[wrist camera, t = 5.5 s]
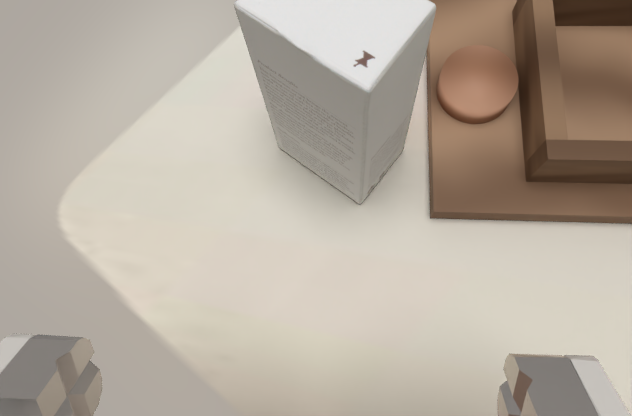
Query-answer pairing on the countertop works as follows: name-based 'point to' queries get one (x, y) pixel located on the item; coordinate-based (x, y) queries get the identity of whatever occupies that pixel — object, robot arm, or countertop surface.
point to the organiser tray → (531, 110)
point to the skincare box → (339, 80)
